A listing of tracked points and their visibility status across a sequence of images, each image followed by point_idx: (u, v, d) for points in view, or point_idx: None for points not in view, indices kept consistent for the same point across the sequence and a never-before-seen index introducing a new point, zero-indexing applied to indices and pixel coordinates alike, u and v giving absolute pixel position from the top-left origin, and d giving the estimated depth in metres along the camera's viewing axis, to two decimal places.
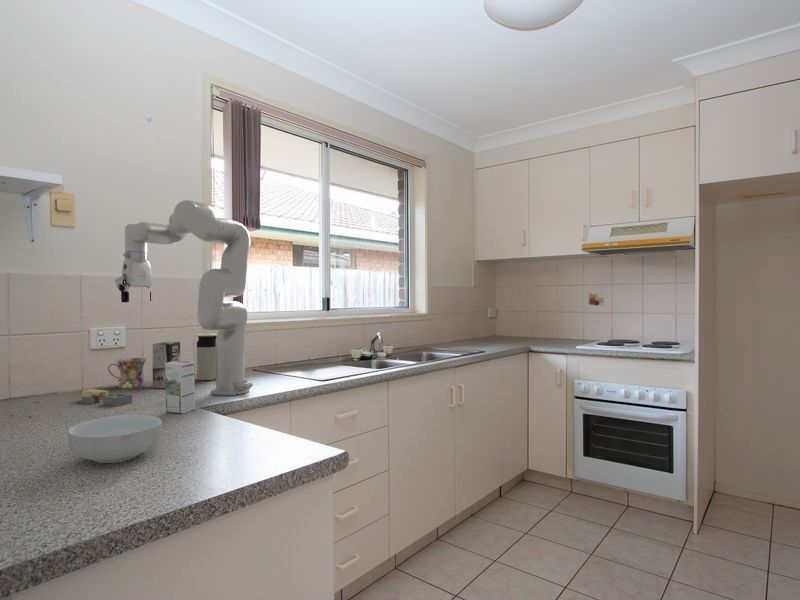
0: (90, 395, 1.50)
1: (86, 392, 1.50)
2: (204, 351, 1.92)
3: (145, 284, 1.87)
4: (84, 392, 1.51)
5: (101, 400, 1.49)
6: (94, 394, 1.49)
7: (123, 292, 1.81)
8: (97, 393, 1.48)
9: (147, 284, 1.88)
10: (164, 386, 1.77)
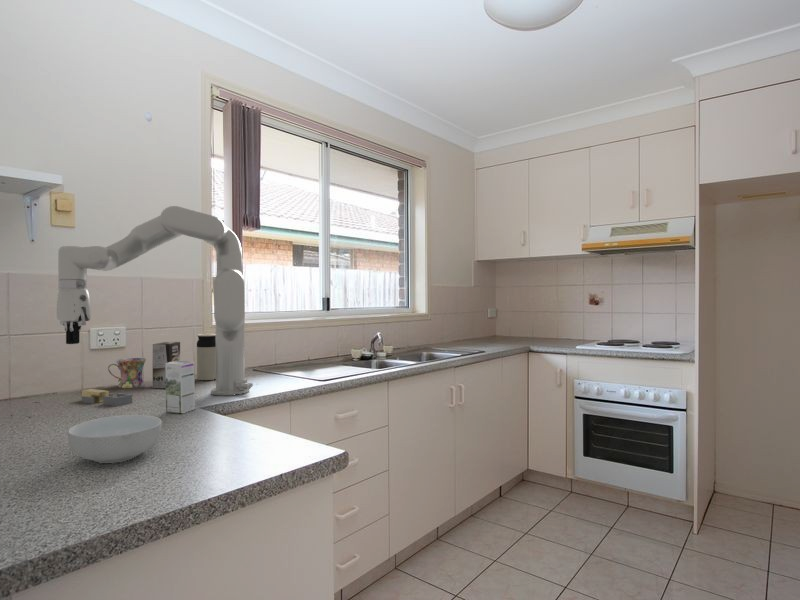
0: (90, 395, 1.50)
1: (86, 392, 1.50)
2: (204, 351, 1.92)
3: None
4: (84, 392, 1.51)
5: (101, 400, 1.49)
6: (94, 394, 1.49)
7: (77, 332, 1.54)
8: (97, 393, 1.48)
9: None
10: (164, 386, 1.77)
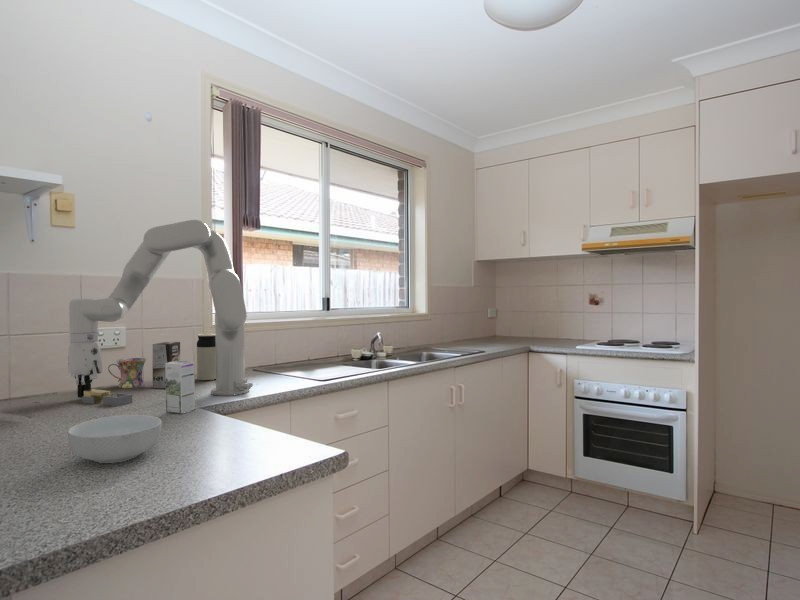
0: (92, 395, 1.49)
1: (88, 392, 1.50)
2: (204, 351, 1.92)
3: None
4: (86, 392, 1.50)
5: None
6: (96, 394, 1.49)
7: (88, 385, 1.53)
8: (99, 393, 1.48)
9: None
10: (164, 386, 1.77)
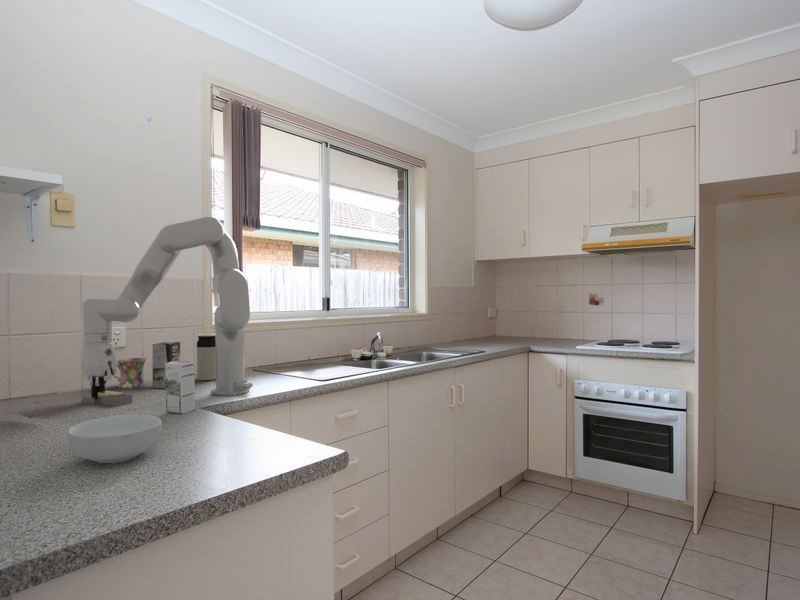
0: None
1: (102, 394, 1.48)
2: (204, 351, 1.92)
3: None
4: (100, 394, 1.48)
5: None
6: (111, 396, 1.46)
7: (102, 386, 1.50)
8: (114, 395, 1.46)
9: None
10: (164, 386, 1.77)
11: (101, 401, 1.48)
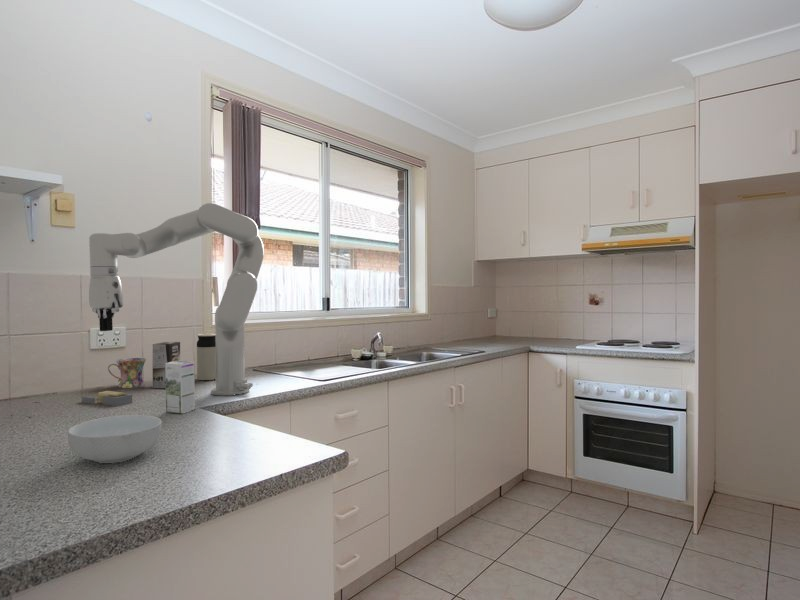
0: None
1: (103, 394, 1.47)
2: (204, 351, 1.92)
3: None
4: (100, 394, 1.48)
5: None
6: (111, 396, 1.46)
7: (110, 319, 1.55)
8: (114, 395, 1.46)
9: None
10: (164, 386, 1.77)
11: (101, 401, 1.48)
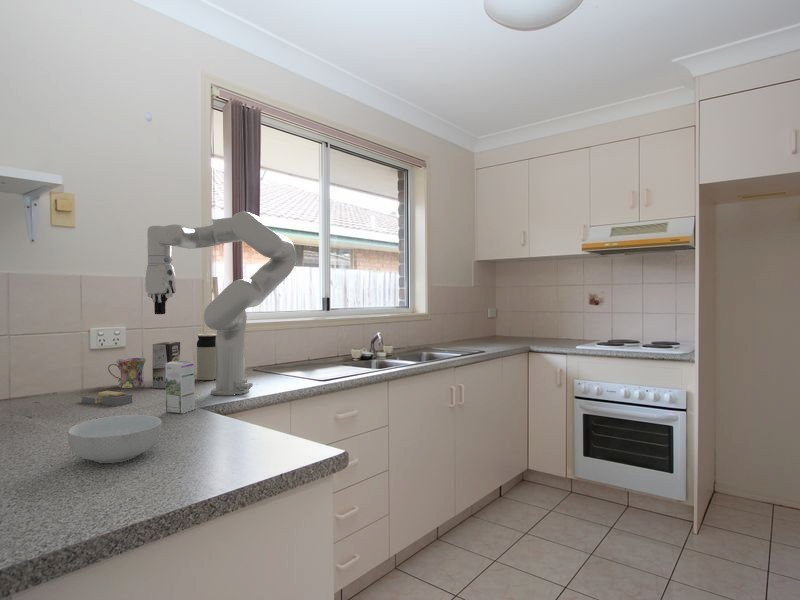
0: None
1: (103, 394, 1.47)
2: (204, 351, 1.92)
3: None
4: (100, 394, 1.48)
5: None
6: (111, 396, 1.46)
7: (163, 303, 1.71)
8: (114, 395, 1.46)
9: None
10: (164, 386, 1.77)
11: (101, 401, 1.48)
